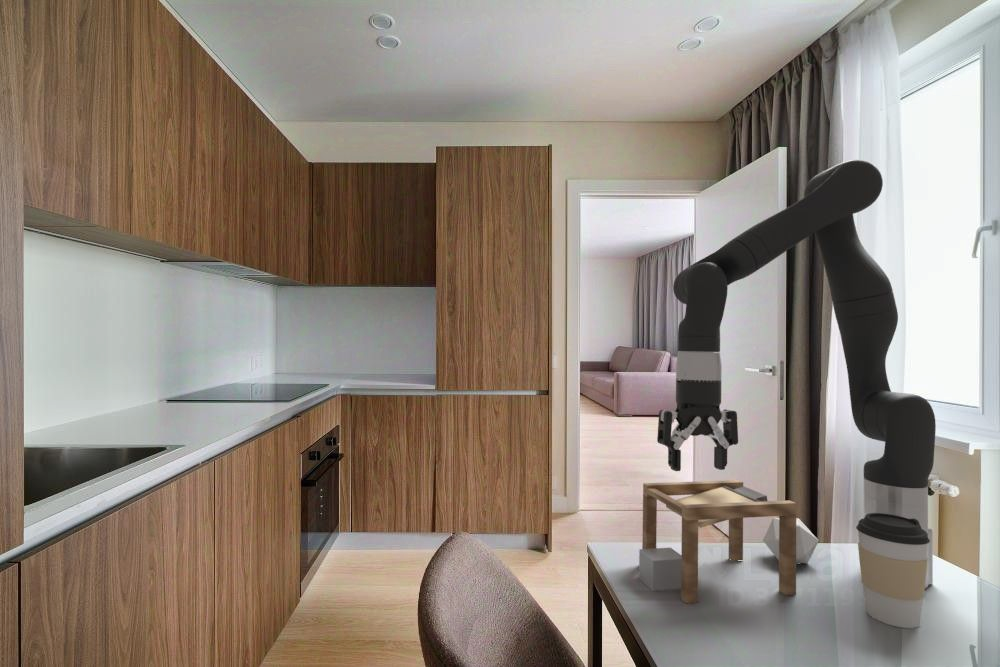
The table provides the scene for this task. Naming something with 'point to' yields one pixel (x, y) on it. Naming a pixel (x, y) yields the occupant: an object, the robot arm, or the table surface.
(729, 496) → the trapdoor
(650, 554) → the grey block
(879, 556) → the coffee cup
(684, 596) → the frame
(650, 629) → the table surface
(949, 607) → the table surface
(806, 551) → the die
